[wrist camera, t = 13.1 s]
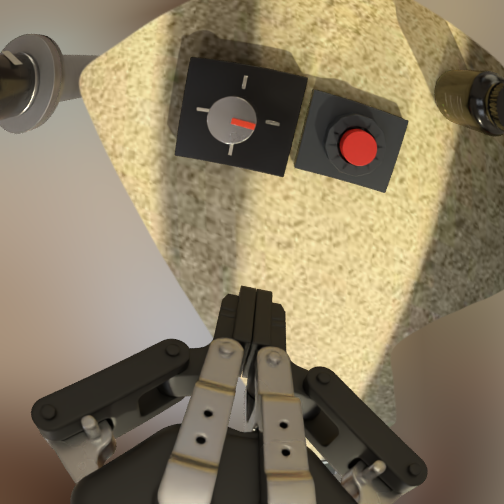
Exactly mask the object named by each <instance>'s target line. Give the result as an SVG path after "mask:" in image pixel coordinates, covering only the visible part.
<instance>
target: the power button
mask: <svg viewBox="0 0 504 504" xmlns="http://www.w3.org/2000/svg"><path fill="white" fill-rule="evenodd" d="M340 150H341V153H342V155H343V156H344V157H345V158H346V159H347V161H348V162H350V163H351V164H353V165H357V166H363V165H366V164H368V163H370V162H371V161H372V160H373V159H374V158H375V156H376V153H377V144H376V141H375V140H374V138H373V137H372V136H371V135H370V134H369V133H367V132H365V131H363V130H361V129H351V130H348V131H347V132H345V133H344V134H343V136H342V137H341V140H340Z"/></svg>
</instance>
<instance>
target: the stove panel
mask: <svg viewBox="0 0 504 504" xmlns="http://www.w3.org/2000/svg"><path fill="white" fill-rule="evenodd" d="M307 81H308V78H307V77H303V76H299V75H294V74H290V73H286V72H281V71H277V70H272V69H267V68H262V67H257V66H252V65H246V64H240V63H234V62H228V61H221V60H214V59H206V58H197V57H191V58H190V63H189V69H188V74H187V79H186V85H185V90H184V96H183V102H182V108H181V115H180V121H179V128H178V134H177V142H176V149H175V155H176V156H182V157H187V158H193V159H198V160H204V161H209V162H214V163H219V164H225V165H229V166H234V167H239V168H244V169H249V170H253V171H258V172H262V173H267V174H271V175H276V176H280V177H284V173H285V169H286V165H287V161H288V157H289V153H290V149H291V145H292V141H293V137H294V133H295V129H296V125H297V121H298V117H299V113H300V109H301V105H302V101H303V97H304V93H305V89H306V85H307ZM233 95H243V96H246V97H248V98H250V99H251V100H253V101H254V103H255V104H256V105H257V107H258V110H259V122H258V124H257V126H256V128H255V130H254V132H253V133H252V135H251V136H250V137H249V138H248V139H246V140H245V141H243V142H241V143H237V144H227V143H223V142H221V141H219V140H217V139H216V138H215V137H214V136H213V135H212V134H211V132H210V131H209V128H208V125H207V115H208V112H209V110H210V108H211V106H212V105H213V104H214V103H215V102H216V101H218V100H220V99H222V98H224V97H228V96H233Z"/></svg>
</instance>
